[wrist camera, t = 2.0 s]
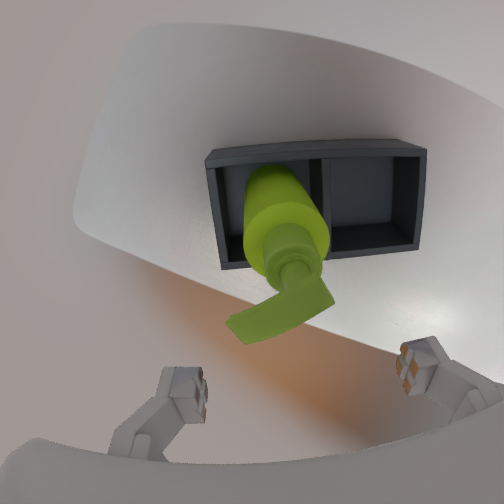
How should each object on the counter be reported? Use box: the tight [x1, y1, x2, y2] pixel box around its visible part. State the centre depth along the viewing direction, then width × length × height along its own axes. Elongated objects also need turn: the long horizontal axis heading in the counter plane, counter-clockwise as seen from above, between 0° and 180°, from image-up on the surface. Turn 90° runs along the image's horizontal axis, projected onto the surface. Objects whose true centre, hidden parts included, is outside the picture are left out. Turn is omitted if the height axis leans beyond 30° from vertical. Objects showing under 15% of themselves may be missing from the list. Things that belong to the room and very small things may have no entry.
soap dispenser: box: [226, 164, 335, 344], centre depth 24 cm, size 6×7×20 cm
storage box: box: [205, 139, 427, 270], centre depth 30 cm, size 11×20×6 cm, turn 96°
